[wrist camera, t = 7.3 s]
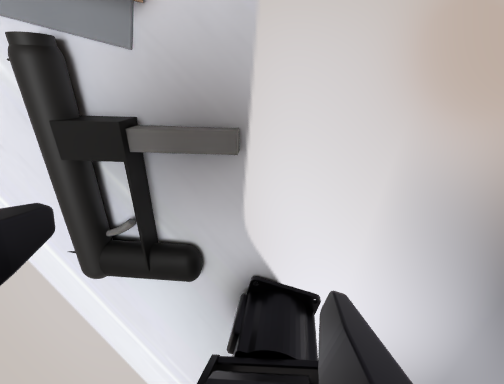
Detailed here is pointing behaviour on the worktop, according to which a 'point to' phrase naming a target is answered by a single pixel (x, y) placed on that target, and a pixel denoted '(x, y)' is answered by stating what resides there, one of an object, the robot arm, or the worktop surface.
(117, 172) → the worktop surface
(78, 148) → the door handle
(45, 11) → the mat
